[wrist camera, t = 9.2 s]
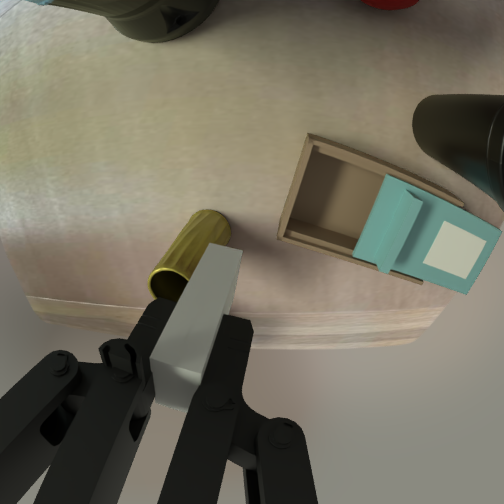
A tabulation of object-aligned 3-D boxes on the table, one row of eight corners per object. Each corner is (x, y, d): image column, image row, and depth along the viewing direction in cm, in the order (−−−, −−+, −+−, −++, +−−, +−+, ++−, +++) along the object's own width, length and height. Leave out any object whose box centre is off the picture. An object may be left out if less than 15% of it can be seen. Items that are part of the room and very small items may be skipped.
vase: (239, 223, 40) (210, 285, 28) (218, 257, 43) (186, 324, 30) (199, 200, 39) (153, 252, 27) (181, 235, 42) (136, 295, 30)
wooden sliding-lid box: (307, 132, 33) (309, 138, 28) (446, 190, 33) (464, 203, 28) (279, 221, 39) (276, 239, 34) (410, 264, 39) (421, 285, 34)
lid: (386, 173, 29) (396, 182, 26) (499, 229, 29) (513, 242, 26) (352, 253, 35) (356, 270, 31) (464, 291, 34) (474, 307, 31)
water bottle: (482, 143, 29) (608, 206, 9) (429, 180, 33) (539, 277, 13) (448, 75, 26) (584, 79, 6) (390, 111, 30) (509, 141, 10)
